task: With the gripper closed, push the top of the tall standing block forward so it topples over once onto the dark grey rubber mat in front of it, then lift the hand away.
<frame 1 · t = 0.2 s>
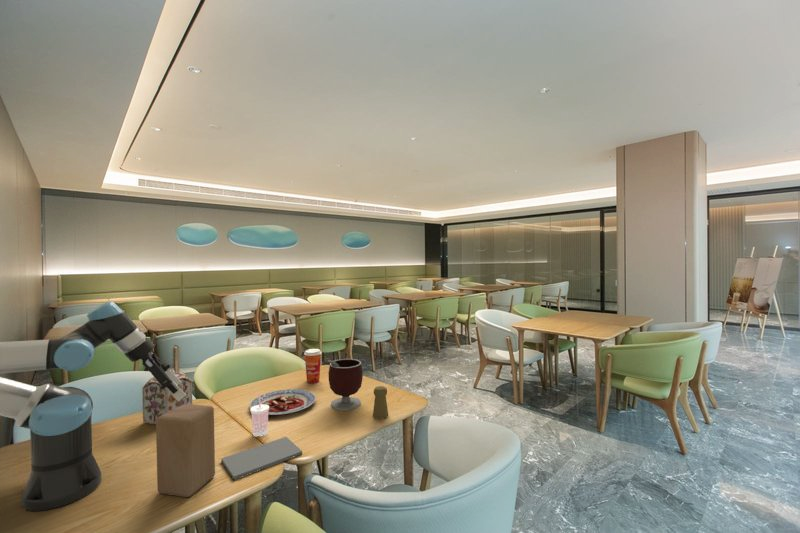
hand: (180, 391, 123), 16 cm above the table, tool tilted 35°, fingers open, 13 cm apart
mate gourd: (344, 405, 150), on the table
block: (187, 485, 98), on the table
coffee cup: (313, 381, 180), on the table
ceramic plate: (283, 406, 150), on the table
beverage cup: (260, 434, 126), on the table
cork: (380, 416, 140), on the table
decorative jar: (168, 419, 138), on the table
mat: (262, 457, 111), on the table
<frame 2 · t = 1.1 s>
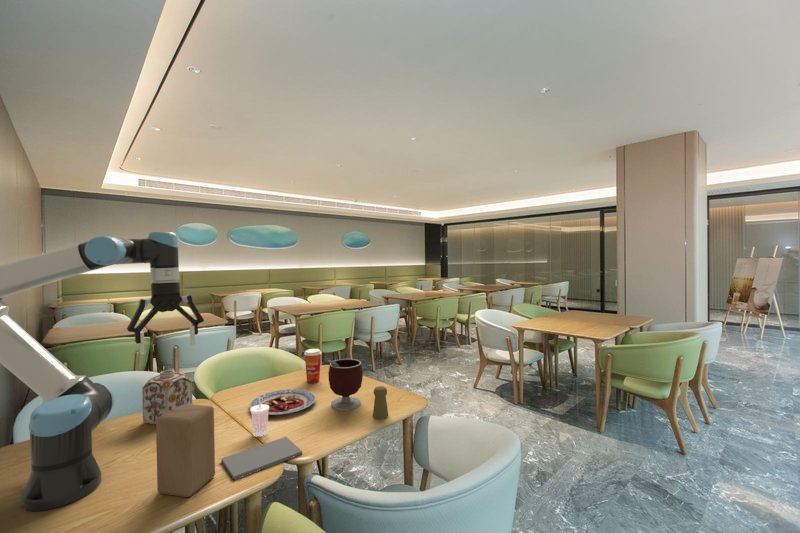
hand: (168, 349, 115), 32 cm above the table, tool pointing down, fingers open, 13 cm apart
nothing on the table moved.
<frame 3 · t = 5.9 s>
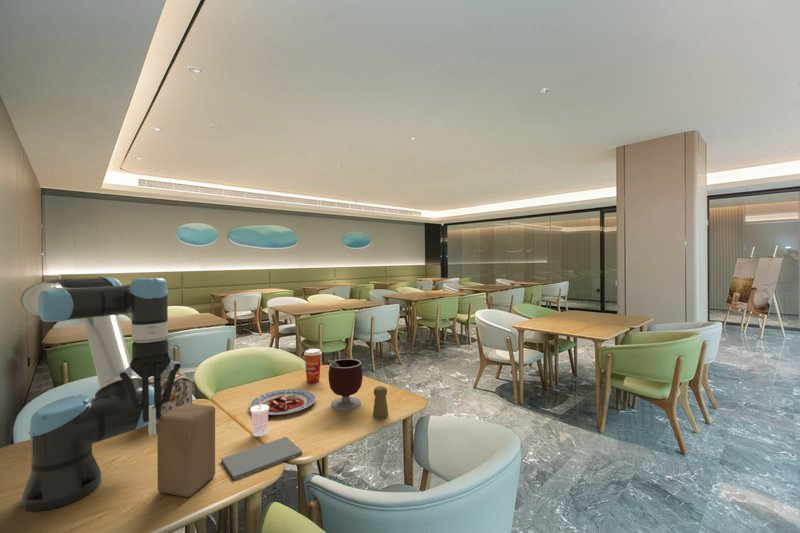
hand: (152, 432, 92), 17 cm above the table, tool pointing down, fingers closed
block: (187, 485, 98), on the table, touching gripper
everything else where it was.
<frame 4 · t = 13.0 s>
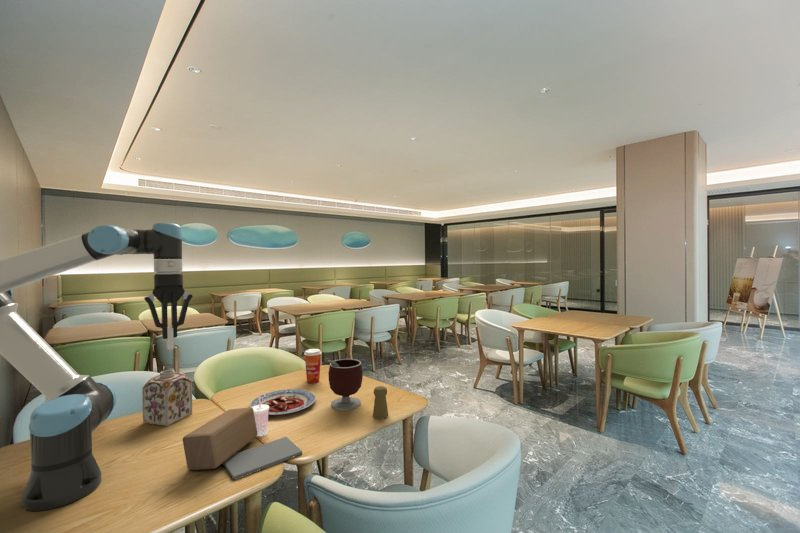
hand: (170, 348, 114), 32 cm above the table, tool pointing down, fingers closed
block: (197, 453, 103), point 6 cm above the table, touching mat
everything else where it was.
at the end: block tilted 90°; block touching mat, table; the gripper is holding nothing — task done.
